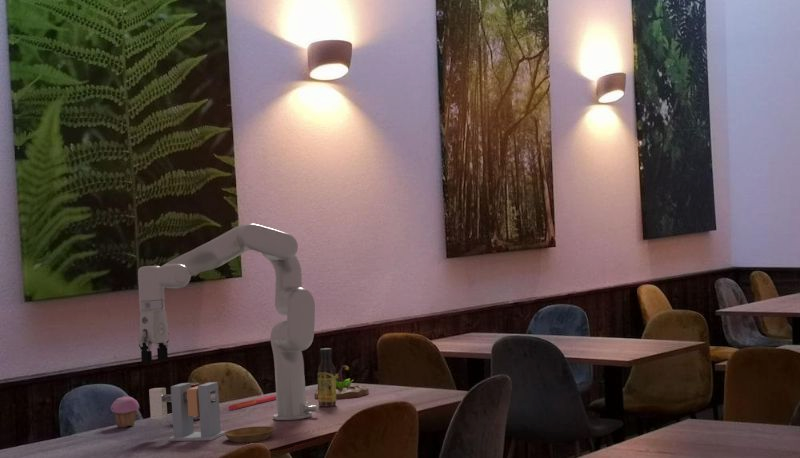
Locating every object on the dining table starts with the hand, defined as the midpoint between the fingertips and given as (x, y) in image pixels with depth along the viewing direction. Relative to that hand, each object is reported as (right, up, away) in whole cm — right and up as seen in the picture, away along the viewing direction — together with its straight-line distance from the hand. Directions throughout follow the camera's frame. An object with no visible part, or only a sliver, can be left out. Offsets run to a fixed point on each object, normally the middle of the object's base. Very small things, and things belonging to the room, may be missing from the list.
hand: (155, 362), depth 331 cm
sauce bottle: (+50, -21, +44) cm, 70 cm away
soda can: (+5, -23, +33) cm, 41 cm away
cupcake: (-15, -25, +27) cm, 39 cm away
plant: (+53, -21, +69) cm, 90 cm away
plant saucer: (+31, -22, -12) cm, 39 cm away
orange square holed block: (+14, -15, -4) cm, 21 cm away
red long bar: (+22, -23, +59) cm, 67 cm away
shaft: (+9, -16, -2) cm, 19 cm away
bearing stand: (+14, -22, -4) cm, 26 cm away
